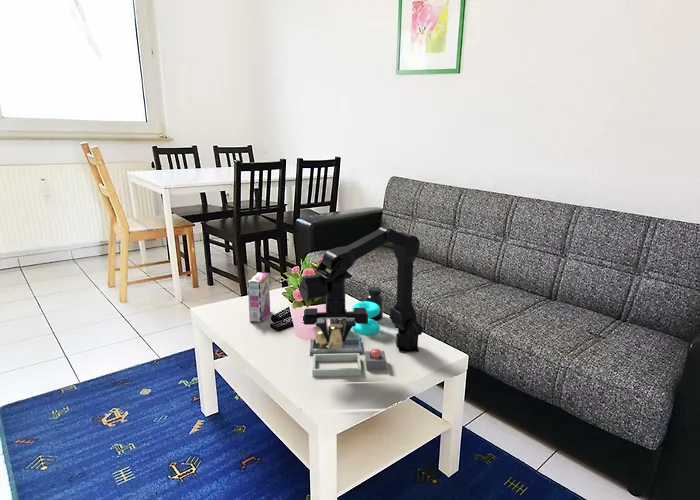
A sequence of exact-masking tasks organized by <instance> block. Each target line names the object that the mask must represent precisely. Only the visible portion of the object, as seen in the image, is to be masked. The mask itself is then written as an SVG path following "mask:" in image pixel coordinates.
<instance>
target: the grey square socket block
mask: <svg viewBox="0 0 700 500" xmlns="http://www.w3.org/2000/svg"><path fill="white" fill-rule="evenodd" d="M364 362H365V369H366V371H387V357H386V353H385V350H380V359H371V350H368V351H364Z"/></svg>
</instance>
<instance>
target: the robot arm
mask: <svg viewBox="0 0 700 500" xmlns="http://www.w3.org/2000/svg"><path fill="white" fill-rule="evenodd" d="M420 241H421V240H420V239H419V238H418V237H417V236H416V235H413V234H410V233H407V232H404V231H399V232H398V231H396V230H394V229H393V228H390V227H388V226H380V227H379V228H378V229H377V230H374V231H373V232H370V233H369V234H367V235H365V236H363V237H361V238H360V239H358V240H356V241H353V242H352V243H350V244H348V245H345V246H337V247H334V248H331V249H328V250H327V251H325V252H324V253H323V257H322V259H321V261H320V262H319V264H318V266H317V267H316V269H315V271H314V273H315V274H313V275H304V276H302V278H301V279H302V281H301V282H300V286H299V291H300V292H299V294H300V298H301V297H302V299H303V300H304V301H305V302H306V301H312V300H316V299H320V301H321V303H320V304H321V305H325V312H321V311H320V312H319V311H318V308H309V307H308V308H306V309H305V310H304V316H303V321H304V322H303V324H304V325H315V327H316V328H319V329H321V331H322V332H323V334H324V336H325V339H326V341H327V343H329V336H328V323H327V320H330V319H345V326H344V333H343V343H344V342H345V340H346V338H347V337H348V335H349V333H350V331H351V330H352V327H353V326H356V323H357V324H366V323H368V313H367V309H366V308H354V311H352V310H351V311H350V310H349V311H347V312H345V309H346V280H347V279H352V278H353V275H352V274H351V273H349V272H348V270H350V268H352V267H353V265H354V264H355V262H356V261H357V260H359V259H361V258H362V257H365V255H367V254H369V253H371V252H373V251H375V250H377V249H378V248H380V247H381V246H384V245H385V244H387V243H391V244H392V251H393V253H394V256H395V259H396V261H397V267H396V269H397V275H396V277H397V278H396V280H397V281H396V303H395V305H393V306H392V307H390V308H389V313H390V314H389V319H390V321H391V323H392V324H393V325H394V328H395V329H397V333H395V334H396V336H395V345H396V348H397V350H398V352H399V353H417V352H420V351H419V336H420V335H422V334H423V331H424V328H423V326H422V325H420V323H418V319H417V318H418V317H417V312H416V310H415V308H414V306H413V288H414V287H413V281H414V261H415V260H416V258H417V257H418V255H419V251H420V245H421V242H420ZM327 270H329V271H330V272H329V271H327Z"/></svg>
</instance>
